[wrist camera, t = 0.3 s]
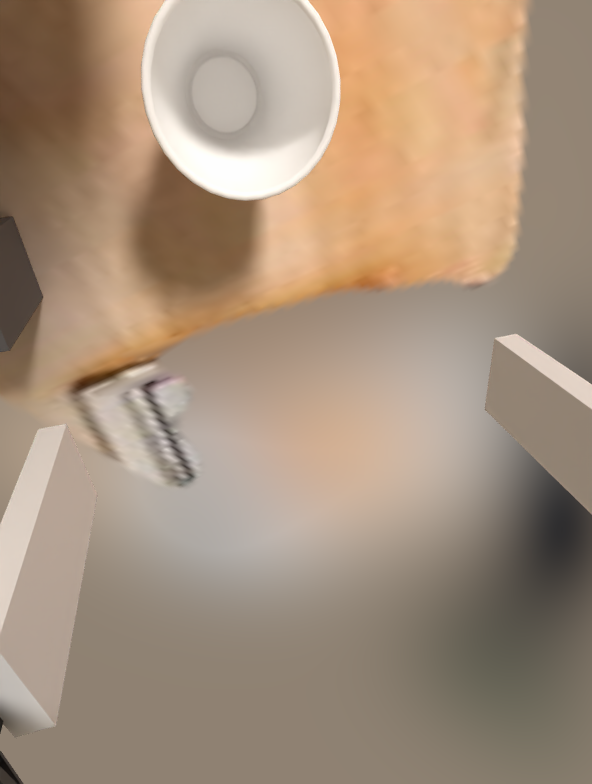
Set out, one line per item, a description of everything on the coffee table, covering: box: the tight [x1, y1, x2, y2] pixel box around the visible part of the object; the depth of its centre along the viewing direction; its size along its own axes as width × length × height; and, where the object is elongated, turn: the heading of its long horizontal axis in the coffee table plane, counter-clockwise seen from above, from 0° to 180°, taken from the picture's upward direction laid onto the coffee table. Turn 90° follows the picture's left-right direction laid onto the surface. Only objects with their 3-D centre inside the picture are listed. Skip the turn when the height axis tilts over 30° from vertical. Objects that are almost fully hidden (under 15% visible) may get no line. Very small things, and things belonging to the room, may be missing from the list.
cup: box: [141, 0, 340, 201], centre depth 28 cm, size 10×10×11 cm
